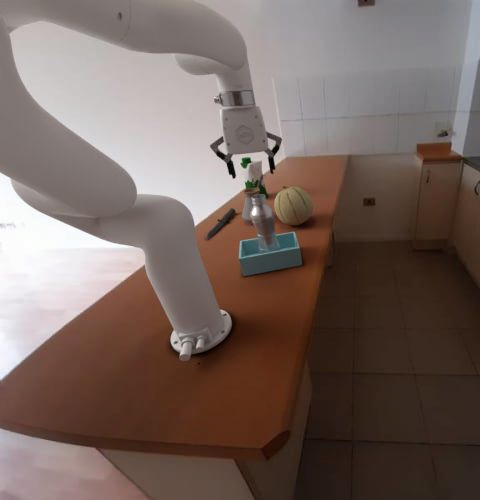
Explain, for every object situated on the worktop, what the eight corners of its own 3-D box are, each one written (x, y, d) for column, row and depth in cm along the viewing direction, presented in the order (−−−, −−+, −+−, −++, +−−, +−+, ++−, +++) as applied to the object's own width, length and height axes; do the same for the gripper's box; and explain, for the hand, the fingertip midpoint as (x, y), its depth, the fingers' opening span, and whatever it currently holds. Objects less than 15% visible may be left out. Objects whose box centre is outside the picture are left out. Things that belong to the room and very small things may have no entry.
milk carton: (245, 200, 138) (235, 158, 128) (258, 194, 144) (250, 154, 134) (257, 202, 134) (248, 159, 124) (270, 196, 140) (263, 155, 130)
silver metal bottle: (278, 264, 82) (265, 200, 72) (257, 263, 84) (241, 200, 74) (285, 253, 88) (274, 192, 78) (265, 252, 89) (252, 192, 79)
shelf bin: (302, 265, 83) (299, 247, 80) (243, 276, 80) (238, 258, 77) (297, 247, 93) (294, 231, 90) (244, 257, 90) (240, 240, 86)
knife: (229, 211, 123) (231, 206, 122) (238, 216, 124) (240, 211, 122) (196, 236, 102) (198, 231, 101) (208, 243, 103) (210, 237, 102)
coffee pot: (266, 226, 109) (259, 189, 102) (239, 226, 110) (229, 190, 103) (281, 206, 127) (275, 173, 120) (257, 206, 129) (250, 174, 121)
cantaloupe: (312, 231, 102) (307, 192, 95) (273, 232, 104) (265, 193, 96) (316, 215, 115) (313, 179, 108) (282, 216, 116) (276, 181, 109)
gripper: (196, 104, 59) (217, 183, 68) (277, 98, 63) (288, 174, 71) (201, 103, 66) (220, 175, 74) (274, 98, 69) (285, 168, 77)
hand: (253, 175), depth 73 cm, fingers open, 9 cm apart
